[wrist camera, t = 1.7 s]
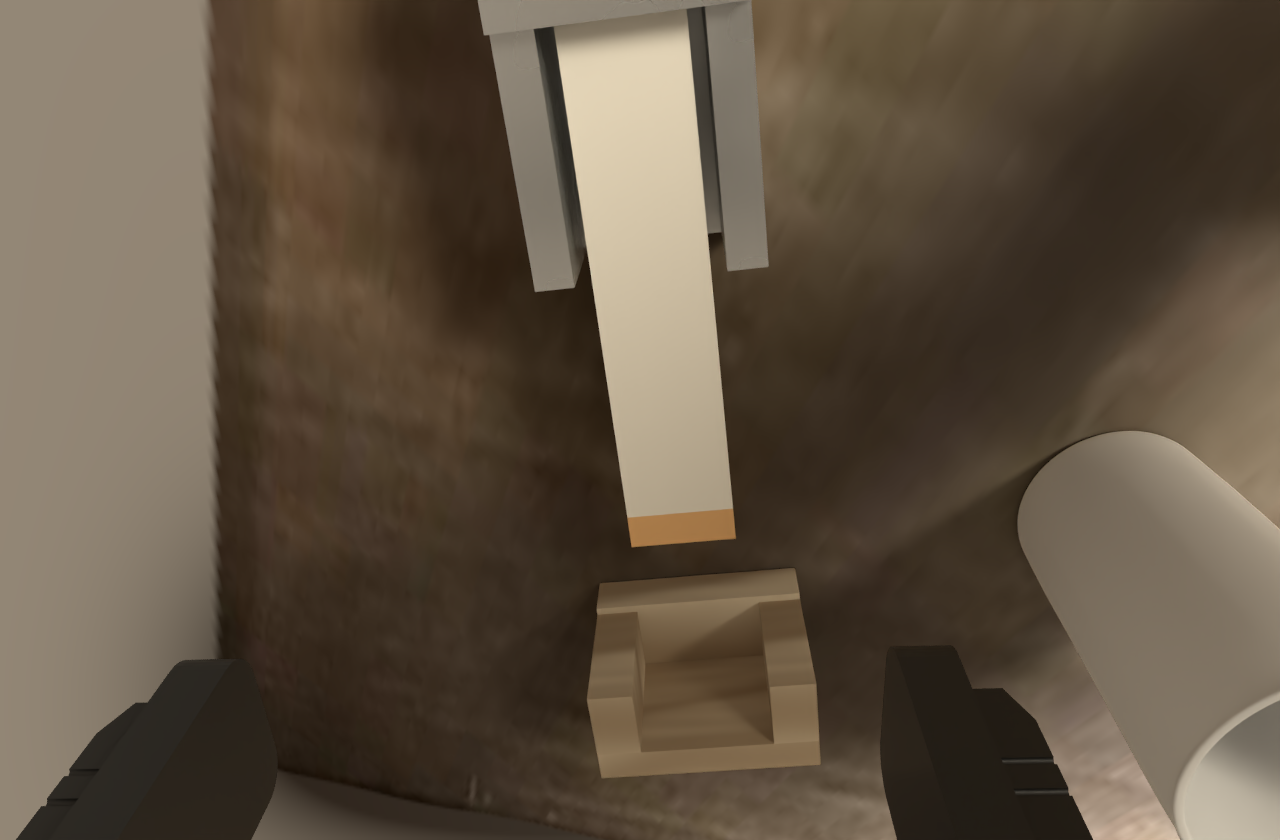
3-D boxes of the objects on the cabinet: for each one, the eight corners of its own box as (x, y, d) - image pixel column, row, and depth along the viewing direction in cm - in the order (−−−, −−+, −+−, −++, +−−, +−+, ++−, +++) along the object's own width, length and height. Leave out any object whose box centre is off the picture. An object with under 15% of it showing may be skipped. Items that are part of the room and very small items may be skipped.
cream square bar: (541, -166, 22) (522, -185, 19) (668, -185, 22) (666, -207, 19) (635, 494, 30) (631, 547, 27) (730, 486, 29) (735, 538, 27)
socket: (599, 583, 34) (585, 693, 29) (794, 567, 33) (816, 677, 28) (613, 661, 35) (602, 779, 30) (799, 647, 35) (820, 766, 29)
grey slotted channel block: (498, -147, 24) (444, -182, 18) (724, -180, 23) (738, -226, 18) (560, 235, 28) (531, 299, 23) (752, 213, 28) (770, 273, 22)
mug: (992, 590, 33) (1144, 889, 22) (1023, 421, 30) (1215, 670, 20) (1283, 593, 33) (1580, 898, 22) (1342, 421, 30) (1717, 676, 19)
